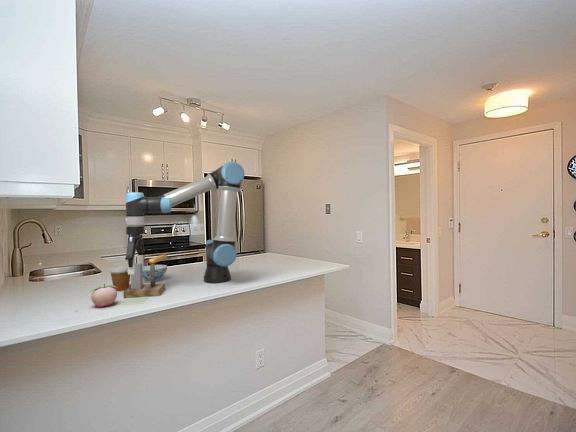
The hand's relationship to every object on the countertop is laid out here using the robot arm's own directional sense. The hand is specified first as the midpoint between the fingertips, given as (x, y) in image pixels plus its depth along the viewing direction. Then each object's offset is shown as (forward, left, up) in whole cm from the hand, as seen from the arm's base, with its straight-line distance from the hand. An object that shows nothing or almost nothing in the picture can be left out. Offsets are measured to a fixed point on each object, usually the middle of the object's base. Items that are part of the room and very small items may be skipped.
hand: (136, 271), depth 142 cm
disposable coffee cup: (+10, -11, -12) cm, 19 cm away
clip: (-8, -6, +4) cm, 11 cm away
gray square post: (0, 0, -11) cm, 11 cm away
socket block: (-4, 0, -12) cm, 12 cm away
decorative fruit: (+8, +16, -12) cm, 21 cm away
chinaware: (0, -32, -12) cm, 34 cm away
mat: (-3, +12, -12) cm, 17 cm away
